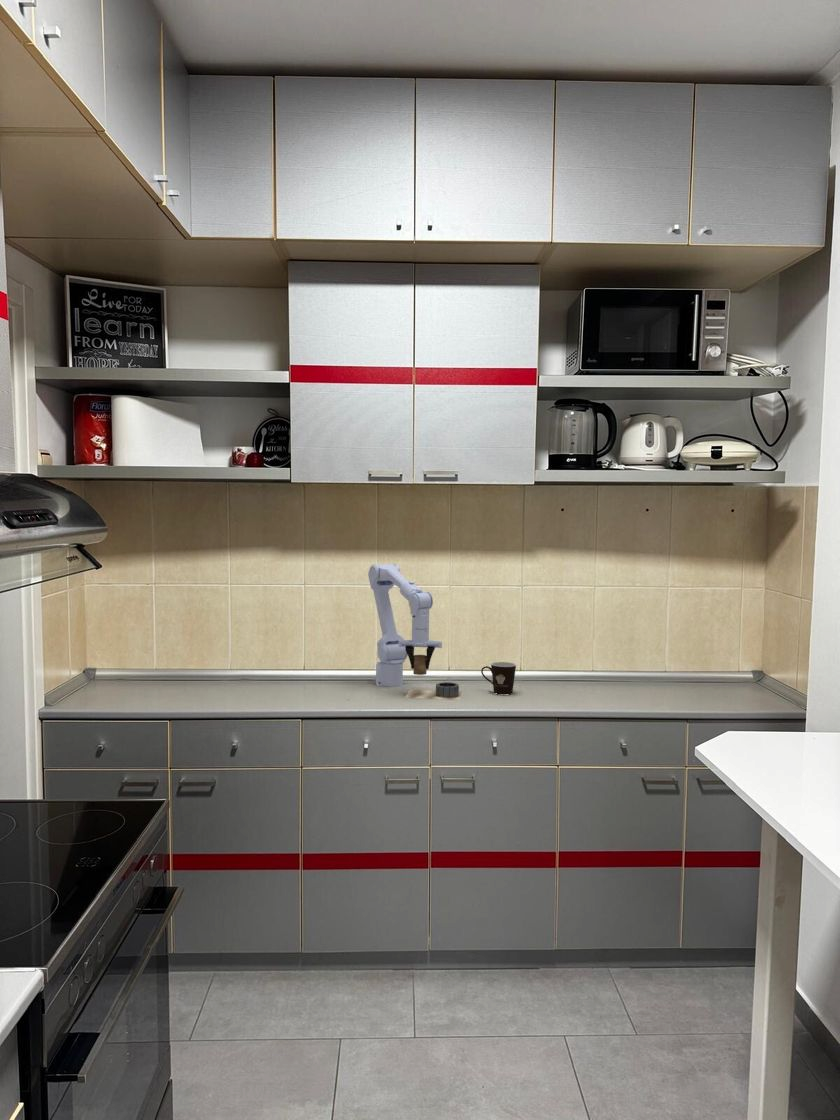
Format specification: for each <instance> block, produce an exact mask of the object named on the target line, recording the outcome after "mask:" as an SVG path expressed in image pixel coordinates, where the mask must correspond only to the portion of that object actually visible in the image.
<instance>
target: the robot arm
mask: <svg viewBox="0 0 840 1120" xmlns="http://www.w3.org/2000/svg"><path fill="white" fill-rule="evenodd" d="M367 573H368V574H367V575H368V581H369V585H370V589H371V590H373V591H372V592H373V595H374V601H375V605H376V610H377V616H378V620H379V624H380V625H379V626H380V630H381V635H382V636H381V638H380V639H379V640H378V641H377V643H376V645H377V652H376V654H377V658H378V660H379V661H378V662H377V663H376V666H375V686H377V687H389V688H393V687H401V686H403V685H404V684H403V678H404V677H403V676H404V675H403V672H404V669H403V668H404V666H403V665H404V663H405V661H406V659H408V660H409V663H410V669H411V670H413V669H414V655H415V648H426V651H425V652H426V656H427V662H426V669H427V670H429V669H430V662H431V659H432V657H433V653H434V651H435V649H437V648H438V649H442V647H443V641H441V640H440V641H439V640H436V641H435V640H430V636H429V635H430V609H432V607H433V604H434V599H433V596H432V594H431V593H430V591H423V590H422V589H421V588H420V587H418V585H417V584H415V581H413V580H407V579H406V578H405V576H403V574H402V573H401V568H400V567H399V565H397V563H386V564H382V563H381V564H375V563H373V564H371V566H370V567H369V571H368V572H367ZM394 586H396V587H398V588H399V593H400V595H402V596H403V598H404V599H406V600H407V601H408V606H409V609H410V615H411V639H407V640H405V639H404V637H403V636H401V635H400V634H398V631H397V626H396V622H395V617H394V613H393V609H392V603H391V599H390V594H389V591H390V590H391V589H393V587H394Z"/></svg>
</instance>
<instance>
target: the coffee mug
mask: <svg viewBox="0 0 840 1120" xmlns="http://www.w3.org/2000/svg"><path fill="white" fill-rule="evenodd" d="M490 665H491V667H490V666H488V665H486V666H483V667H482V668H481V670H480V673H481V675H482V677H484V679H485V680H486V681H488V682H489V683H491V685H492V687H493V694H495V693H497V694H496V695H498V694H510V695H512V694H513V691H514V683H515V676H516V670H517V669H516V668H517V664H516V663H514V662H509V661H497V662H495V661H494V662H492V663H491V664H490ZM484 669H488V670H490V672H491V677H492V680H490V679H489V678H488V677H487V676H486V675H485V674H484ZM511 693H512V694H511Z"/></svg>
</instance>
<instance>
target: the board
mask: <svg viewBox="0 0 840 1120" xmlns="http://www.w3.org/2000/svg"><path fill="white" fill-rule="evenodd" d="M461 696H462V691H460V690H459V696H458V697H453V698H444V697H438V696H436V690H432V689H431V690H429V689H428V690H427V689H409V690H408V691H407V694H406V695H405V698H404V699H422V700H423V699H425V700H427V699H428V700H451V701H452V700H453V701H454V700H455V701H460V699H461Z"/></svg>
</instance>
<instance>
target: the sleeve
mask: <svg viewBox="0 0 840 1120" xmlns="http://www.w3.org/2000/svg"><path fill="white" fill-rule="evenodd" d="M435 691H436V696H438V697H444V698H453V697H458V696H459V691H460V684H458V683H456V682H451V681H448V682H447V681H446V682H445V681H443V682H437V683H436V684H435Z"/></svg>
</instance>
